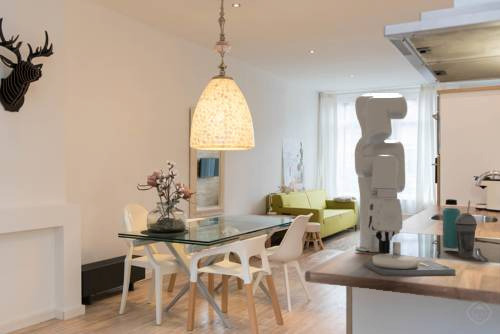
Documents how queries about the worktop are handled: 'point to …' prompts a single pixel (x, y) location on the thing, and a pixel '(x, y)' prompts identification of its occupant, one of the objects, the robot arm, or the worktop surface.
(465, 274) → the worktop surface
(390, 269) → the stand
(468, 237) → the beverage cup
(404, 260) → the dial
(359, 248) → the robot arm
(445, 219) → the beverage bottle
